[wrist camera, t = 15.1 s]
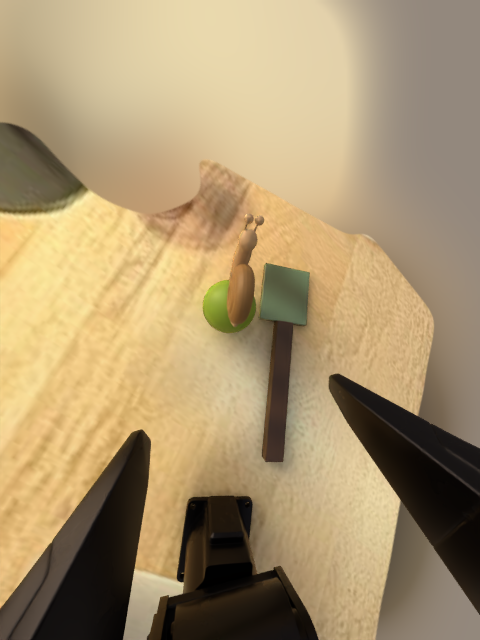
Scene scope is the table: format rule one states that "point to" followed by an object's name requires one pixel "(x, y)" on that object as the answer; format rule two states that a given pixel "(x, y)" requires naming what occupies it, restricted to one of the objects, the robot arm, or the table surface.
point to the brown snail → (235, 288)
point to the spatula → (281, 346)
